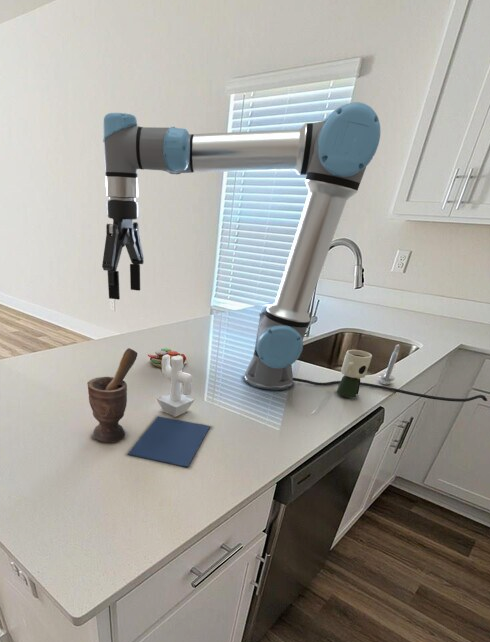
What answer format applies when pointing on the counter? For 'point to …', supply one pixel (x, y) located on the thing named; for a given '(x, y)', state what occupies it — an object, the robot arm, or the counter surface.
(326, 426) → the counter surface
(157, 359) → the toy food set
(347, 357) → the character mug
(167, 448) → the felt mat
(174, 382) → the figurine
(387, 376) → the screw
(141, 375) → the counter surface
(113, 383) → the mortar and pestle
